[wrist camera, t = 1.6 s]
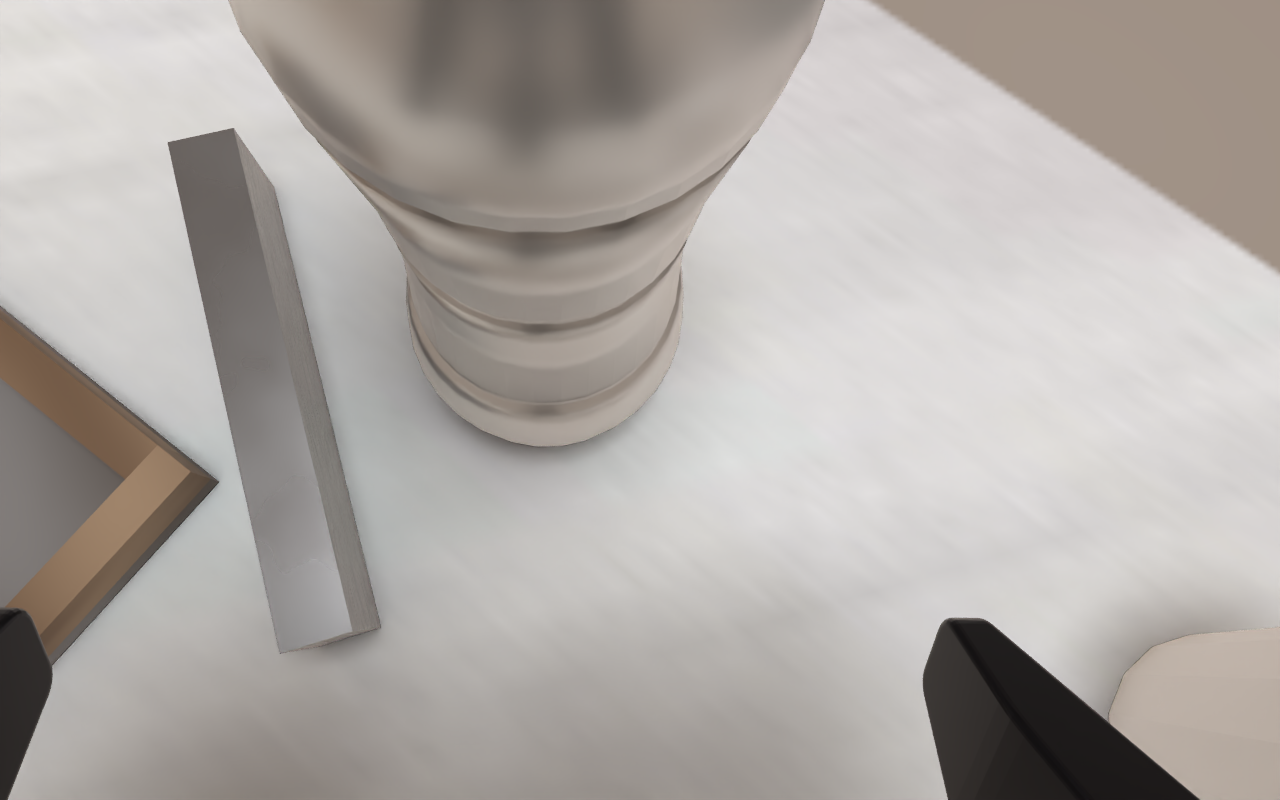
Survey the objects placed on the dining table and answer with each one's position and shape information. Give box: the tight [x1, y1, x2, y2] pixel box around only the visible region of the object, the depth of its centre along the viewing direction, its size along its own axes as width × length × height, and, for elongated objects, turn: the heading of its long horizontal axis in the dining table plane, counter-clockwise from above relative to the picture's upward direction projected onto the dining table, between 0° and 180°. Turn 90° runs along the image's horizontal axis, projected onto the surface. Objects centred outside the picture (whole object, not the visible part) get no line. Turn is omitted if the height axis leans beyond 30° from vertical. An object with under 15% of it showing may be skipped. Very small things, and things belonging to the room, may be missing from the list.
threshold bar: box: [168, 128, 381, 654], centre depth 21 cm, size 12×2×3 cm, turn 17°
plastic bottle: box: [228, 0, 825, 447], centre depth 13 cm, size 6×7×20 cm
